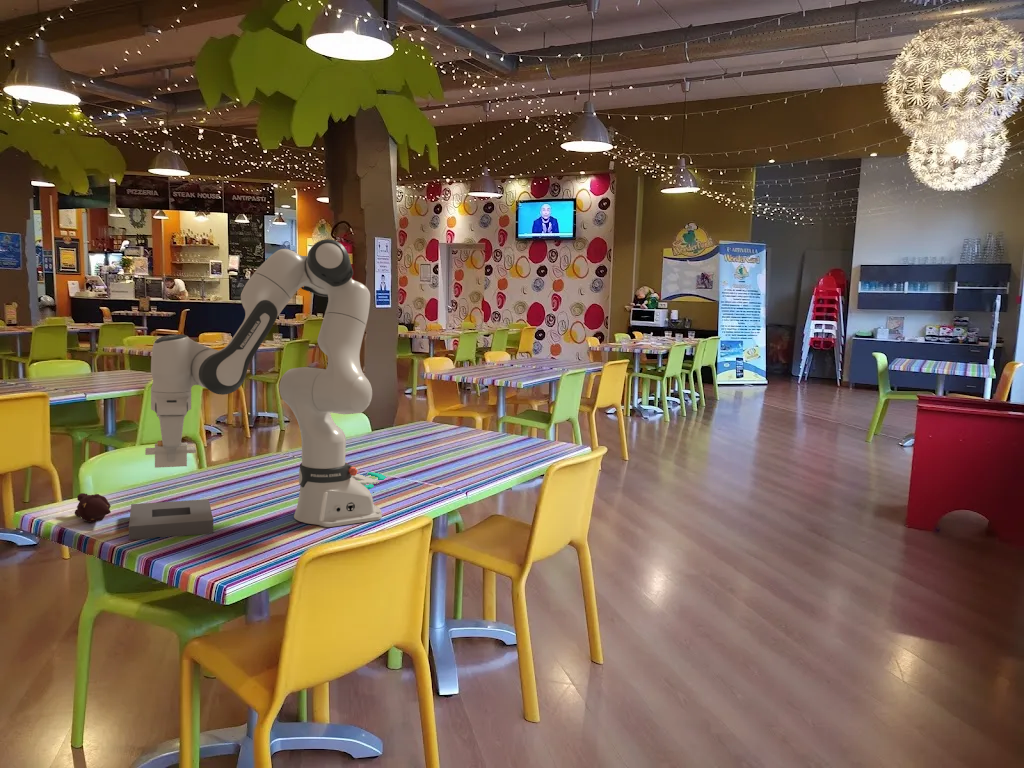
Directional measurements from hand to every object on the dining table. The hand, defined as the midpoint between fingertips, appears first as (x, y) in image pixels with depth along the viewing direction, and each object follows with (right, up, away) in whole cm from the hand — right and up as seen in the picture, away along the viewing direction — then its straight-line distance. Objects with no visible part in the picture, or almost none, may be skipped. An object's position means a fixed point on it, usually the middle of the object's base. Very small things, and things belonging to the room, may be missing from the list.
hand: (171, 458), depth 180 cm
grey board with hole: (-1, -17, +2) cm, 17 cm away
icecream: (-20, -16, +2) cm, 25 cm away
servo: (0, -2, 0) cm, 2 cm away
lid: (+33, -13, +50) cm, 61 cm away
